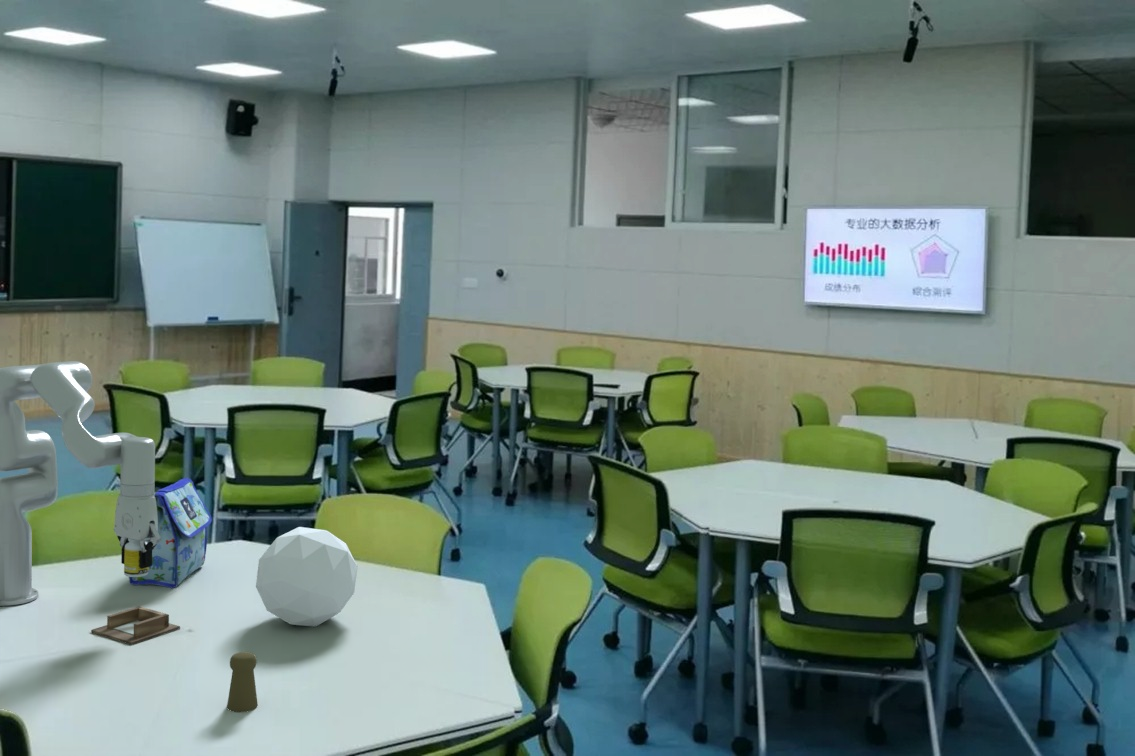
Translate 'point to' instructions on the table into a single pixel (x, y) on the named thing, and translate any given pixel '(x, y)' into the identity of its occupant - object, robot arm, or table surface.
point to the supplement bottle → (133, 560)
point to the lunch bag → (177, 535)
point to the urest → (136, 625)
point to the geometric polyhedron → (306, 576)
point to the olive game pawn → (242, 683)
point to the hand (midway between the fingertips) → (136, 564)
